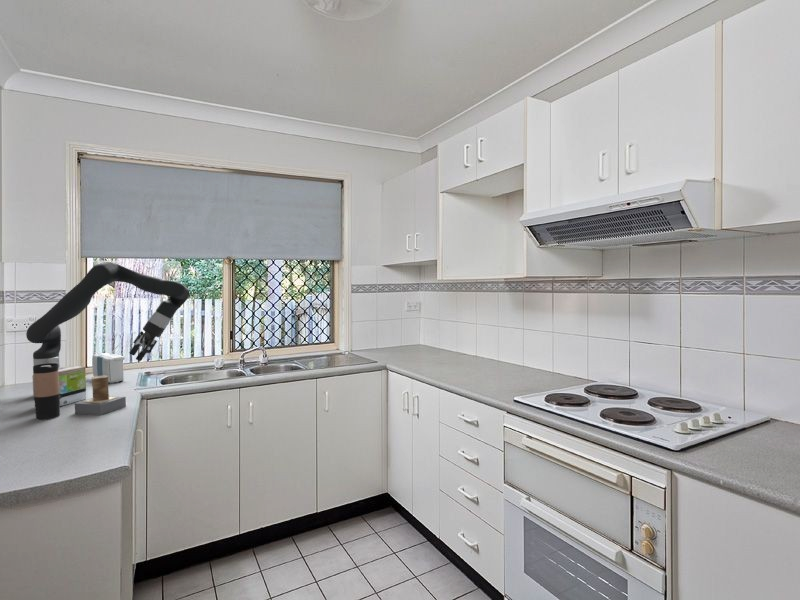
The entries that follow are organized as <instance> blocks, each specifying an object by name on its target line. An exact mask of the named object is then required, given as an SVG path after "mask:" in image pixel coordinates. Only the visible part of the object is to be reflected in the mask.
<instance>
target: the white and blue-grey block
mask: <svg viewBox="0 0 800 600" xmlns="http://www.w3.org/2000/svg"><path fill="white" fill-rule="evenodd" d="M121 344H122V343H121V342H119V344H118V345H117V346H115V348H114V349H113V350H111V351H110V352H104V353H96V354H93V355H92V359H91V361H92V362H91V363H92V375H93V376H92V377H94V376H103V375H107V376H108V384H111V383H112V384H115V383H114V382H116V383H120V382H119V381H122V382H124V379H125V378H124V360H125V359H126V357H125V356H123V355H120V354H116V353H114V352H115V351H116V349H117V348H118V347H120V346H119V345H121Z"/></svg>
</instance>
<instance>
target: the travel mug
mask: <svg viewBox="0 0 800 600" xmlns="http://www.w3.org/2000/svg"><path fill="white" fill-rule="evenodd" d="M32 371H33V372H32V373H33V375H32V376H33V378H32V381H33V380H34V396H33V399H34V408H35V410H34V411H35V419H36V420H37V419H38V421H40V420H41V421H45V420H44V419H46V420H52V419H55V418H58V417H59V416H60V415H61V413H60V412H61V406H60V391H59V374H58V364H57V363H47V364H39V365H35V366H34V365H33V366H32ZM51 418H52V419H51Z"/></svg>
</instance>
